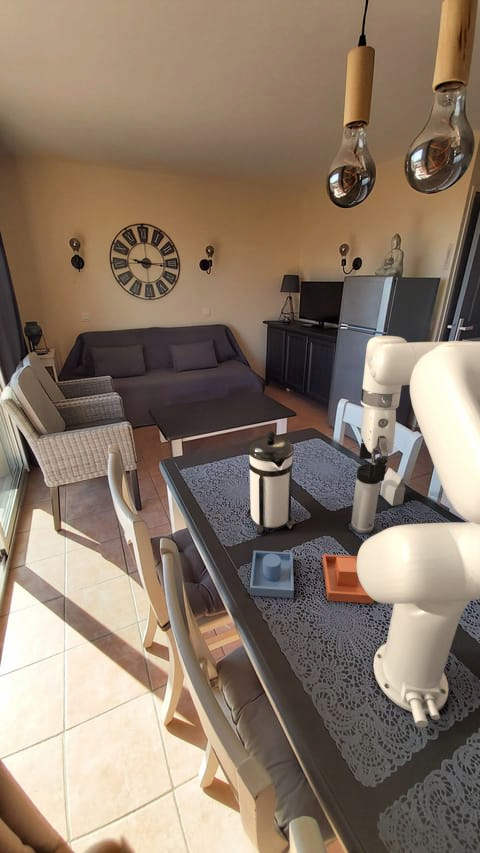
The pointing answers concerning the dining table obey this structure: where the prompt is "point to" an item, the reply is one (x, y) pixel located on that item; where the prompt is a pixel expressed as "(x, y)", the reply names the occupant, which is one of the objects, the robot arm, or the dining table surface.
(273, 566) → the blue cylinder
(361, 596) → the terracotta tray
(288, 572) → the blue tray
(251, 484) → the coffee press
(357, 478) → the travel mug
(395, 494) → the white gabled block
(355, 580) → the terracotta block
